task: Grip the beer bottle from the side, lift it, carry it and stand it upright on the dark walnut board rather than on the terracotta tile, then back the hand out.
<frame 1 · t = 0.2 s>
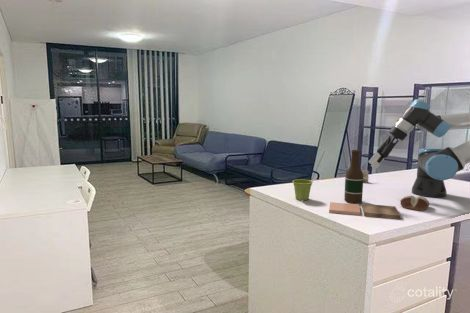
hand: (371, 165, 160), 15 cm above the countertop, tool tilted 35°, fingers open, 13 cm apart
bread: (413, 207, 143), on the countertop
plant pot: (302, 199, 156), on the countertop
architectural model: (362, 183, 194), on the countertop
walnut board: (380, 212, 134), on the countertop
terracotta tile: (344, 209, 139), on the countertop
beer bottle: (353, 201, 152), on the countertop
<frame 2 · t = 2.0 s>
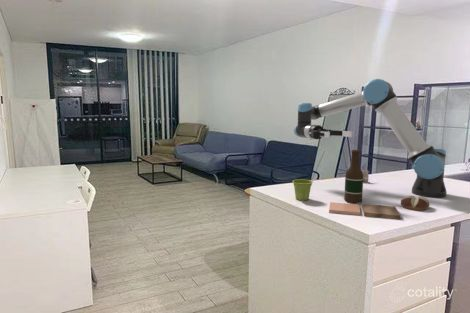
hand: (340, 134, 157), 30 cm above the countertop, tool horizontal, fingers open, 13 cm apart
nothing on the countertop moved.
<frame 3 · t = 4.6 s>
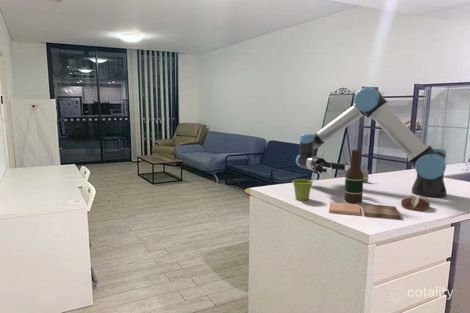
hand: (343, 170, 156), 13 cm above the countertop, tool horizontal, fingers open, 13 cm apart
nothing on the countertop moved.
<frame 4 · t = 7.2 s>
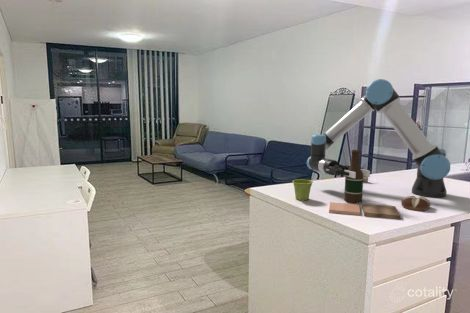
hand: (362, 174, 145), 14 cm above the countertop, tool horizontal, fingers closed on beer bottle, 7 cm apart
beer bottle: (353, 201, 152), on the countertop, touching gripper
everything else where it was.
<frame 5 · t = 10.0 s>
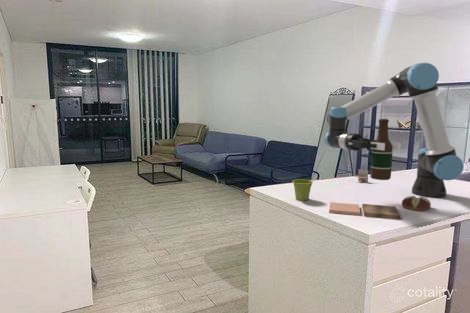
hand: (392, 146, 127), 28 cm above the countertop, tool horizontal, fingers closed on beer bottle, 7 cm apart
beer bottle: (380, 178, 133), point 14 cm above the countertop, touching gripper
everything else where it was.
when the fingers open (16 cm above the countertop, at t = 13.1 s): beer bottle drops 1 cm, resting on walnut board.
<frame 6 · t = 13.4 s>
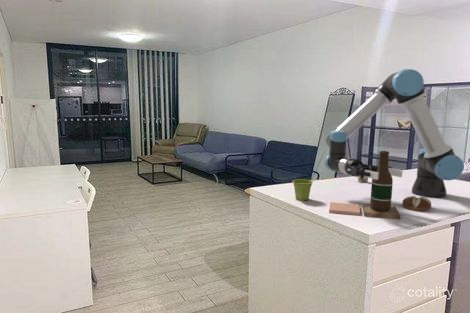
hand: (389, 175, 129), 16 cm above the countertop, tool horizontal, fingers open, 12 cm apart
beer bottle: (380, 209, 134), point 1 cm above the countertop, touching walnut board
everything else where it was.
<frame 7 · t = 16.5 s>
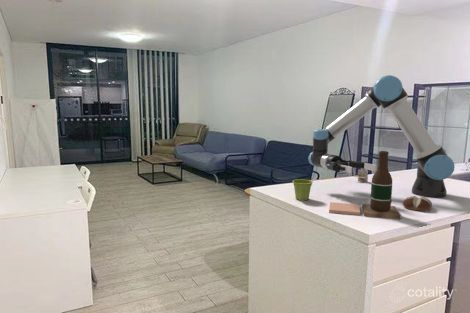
hand: (363, 169, 141), 17 cm above the countertop, tool horizontal, fingers open, 13 cm apart
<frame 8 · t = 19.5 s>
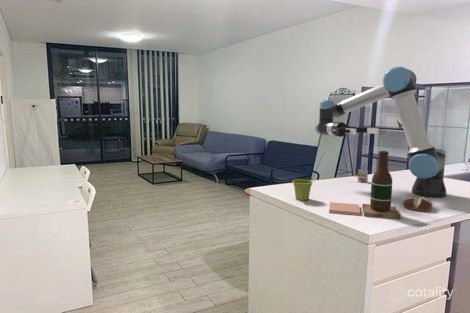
hand: (366, 131, 156), 32 cm above the countertop, tool horizontal, fingers open, 13 cm apart
at the end: beer bottle inside the target area on the walnut board (0.0 cm from its centre), point 1.3 cm above the walnut board's base; beer bottle tilted 0°; the gripper is holding nothing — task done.
